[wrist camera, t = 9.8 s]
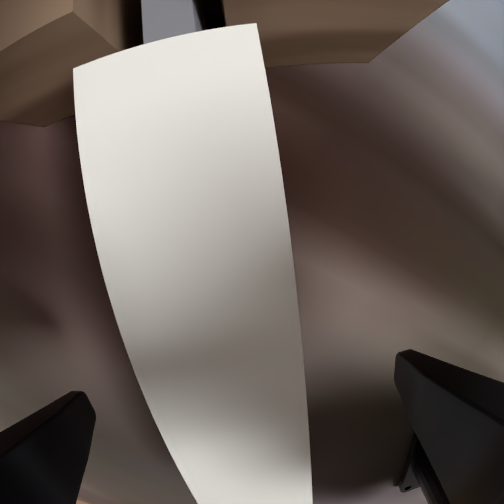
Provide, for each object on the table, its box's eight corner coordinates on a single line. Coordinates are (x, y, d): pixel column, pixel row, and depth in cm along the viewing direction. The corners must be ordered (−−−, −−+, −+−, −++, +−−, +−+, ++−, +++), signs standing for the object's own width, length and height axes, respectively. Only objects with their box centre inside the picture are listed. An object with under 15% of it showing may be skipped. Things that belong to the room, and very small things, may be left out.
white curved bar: (297, 459, 14) (313, 556, 8) (238, 465, 14) (238, 563, 8) (235, 16, 9) (228, -99, 3) (152, 32, 9) (83, -61, 3)
